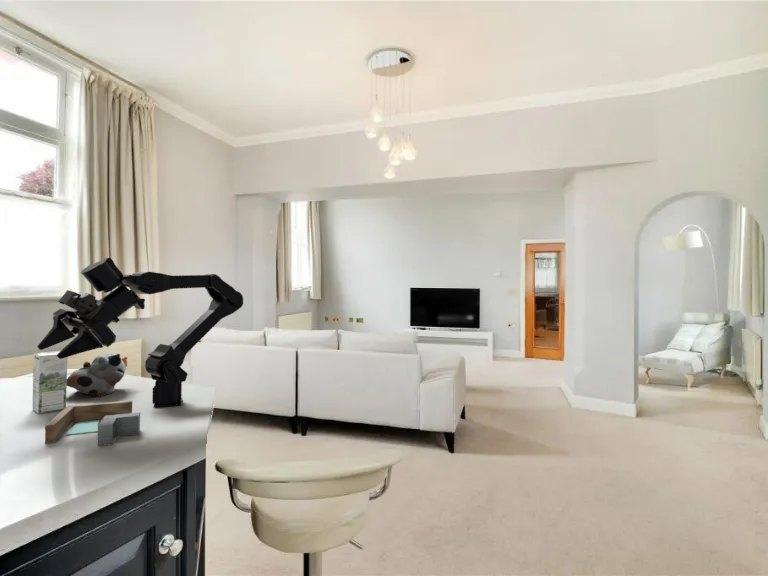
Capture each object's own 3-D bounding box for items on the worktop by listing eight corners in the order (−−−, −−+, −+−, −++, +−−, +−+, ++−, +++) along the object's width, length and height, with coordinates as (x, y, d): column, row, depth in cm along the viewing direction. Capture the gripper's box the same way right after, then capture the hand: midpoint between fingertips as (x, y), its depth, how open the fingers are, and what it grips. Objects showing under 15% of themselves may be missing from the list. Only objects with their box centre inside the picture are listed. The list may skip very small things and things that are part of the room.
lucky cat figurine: (82, 387, 129) (109, 346, 133) (117, 403, 129) (143, 362, 133) (50, 384, 115) (81, 338, 119) (89, 402, 114) (119, 355, 119)
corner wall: (132, 414, 103) (132, 400, 103) (121, 435, 89) (121, 418, 89) (67, 420, 98) (67, 405, 98) (45, 443, 84) (45, 425, 84)
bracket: (104, 434, 89) (105, 415, 89) (140, 430, 92) (140, 412, 92) (97, 445, 83) (97, 425, 83) (135, 441, 85) (135, 421, 85)
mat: (66, 435, 88) (66, 434, 88) (77, 423, 96) (77, 422, 96) (116, 430, 92) (116, 429, 92) (122, 418, 100) (122, 418, 100)
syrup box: (60, 405, 110) (61, 350, 110) (66, 409, 106) (67, 352, 106) (32, 410, 106) (33, 352, 106) (38, 414, 102) (39, 355, 102)
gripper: (70, 275, 102) (3, 318, 92) (112, 286, 92) (41, 334, 82) (99, 310, 108) (38, 353, 98) (140, 323, 99) (78, 372, 89)
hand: (48, 352), depth 92 cm, fingers open, 9 cm apart
